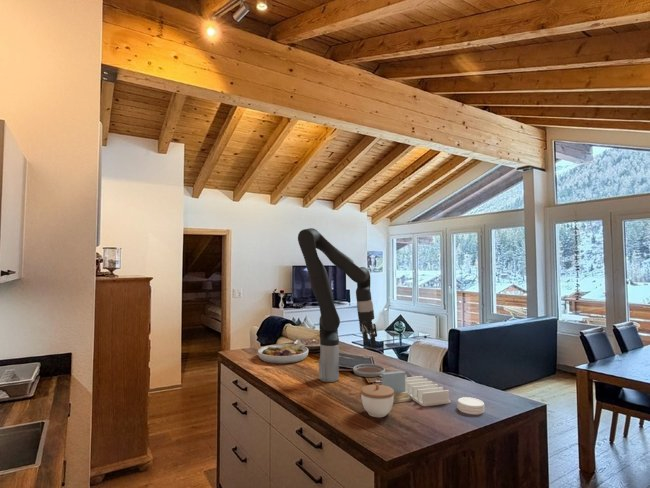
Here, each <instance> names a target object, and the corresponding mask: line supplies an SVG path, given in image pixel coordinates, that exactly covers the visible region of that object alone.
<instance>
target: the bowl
mask: <svg viewBox="0 0 650 488" xmlns="http://www.w3.org/2000/svg"><path fill="white" fill-rule="evenodd" d="M308 355H309V348H308V347H306V346H304V345H300V344H290V343H289V344H287V343H285V344H271V345H266V346H263V347H260V348H259V349H257V356H258V357H259V358H260V360H262V361H263V362H266V363H271V364H280V365H281V364H292V363H298V362H300V361H303V360H305V359H306V358H307V357H308Z"/></svg>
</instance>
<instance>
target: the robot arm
mask: <svg viewBox="0 0 650 488" xmlns="http://www.w3.org/2000/svg"><path fill="white" fill-rule="evenodd" d="M297 241H298V245H299V248H300V251H301V253H302V257H303V259H304V262H305V266H306V270H307V274H308V277H309V283H310V285H311V290H312V292H313V294H314V296H315V299H316V301H317V303H318V307H319V312H320V315H319V316H320V317H319V321H318V322H319V325H318V326H319V342H320V343H319V344H320V345H319V346H320V347H319V348H320V349H319V357H320V358H318V379H319V380H320V381H321V382H322V383H323V382H324V383H325V382H327V383H333V382H338V381H339V379H340V372H339V371H340V339H339V331H338V330H339V329H338V328H339V327H340V324H341V318H340V316H339V314H338V311H337V308H336V305H335V303H334V298H333V291H332V287H331V282H330V278H329V275H328V272H327V269H326V267H325V266H324V264H323V262H322V261H321V259H320V257H319V255H318V251H317V250H319V251H320V252H322V253H323V254H324V255H325V256H326V257H327V259H328V260H329V261H330V263H332V265H334V266H336V267H337V268H338V269H340V270H341V271H343V272H344V273H345V274H346V276H348V277H349V279H351V280H352V281H353V282H355V283H356V286H357V287H356V290H355V297H356V309H357V316H358V317H357V319H358V323H359V331H360V333H361V335H362V339H363V342H364V343H366V342H367V343H368V342H369V338H370V346H371V347H375V346H376V345H377V343H376V338H377V337H378V332H377V331H378V330H377V326H376V323H373V321H374V319H375V312H374V305H373V300H372V293H371V274H370V273H371V272H370V271H369V269H368V268H366V267H365V266H361V267H360V266H358V265H356V264H355V262H354V260H353V259H352V258H351V257H349V256H348V255H347V254H345V253H344V252H342V251H341V250H340V249H338V248H337V247H335V246H334V245H333V244H332V243H331V242H330V241H328V240H327V238H325V236H324V235H322V234H321V233H320V231H318V229H316V228H313V227H310V228H304V229H301V230H300V231H299V232H298V235H297Z"/></svg>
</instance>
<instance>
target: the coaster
mask: <svg viewBox="0 0 650 488" xmlns="http://www.w3.org/2000/svg"><path fill="white" fill-rule="evenodd" d="M456 402H457V404H456V405H457V410H458V411H460V412H462V413H463V414H467V415H473V416H474V415H482V414H484V413H485V403H484V401H483V400H481V399H478V398H475V397H469V396H464V397H460V398H458V399H457V401H456Z"/></svg>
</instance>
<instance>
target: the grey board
mask: <svg viewBox="0 0 650 488" xmlns="http://www.w3.org/2000/svg"><path fill="white" fill-rule="evenodd" d="M405 377H406V372H405V371H404V370H403V371H402V370H401V371H390V372H384V373H382V377H381V378H382V380H381V385H385V386H388V387H391V388H392V389H393V390H394V393H401V392H405Z"/></svg>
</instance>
